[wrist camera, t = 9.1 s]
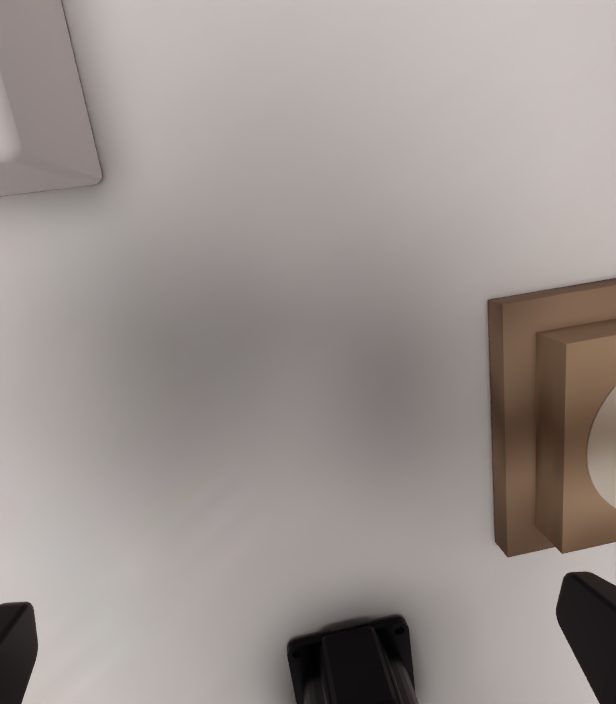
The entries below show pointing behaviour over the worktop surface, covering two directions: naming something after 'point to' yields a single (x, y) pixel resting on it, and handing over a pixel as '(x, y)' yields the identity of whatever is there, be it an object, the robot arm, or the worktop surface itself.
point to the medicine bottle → (41, 103)
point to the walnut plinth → (554, 418)
